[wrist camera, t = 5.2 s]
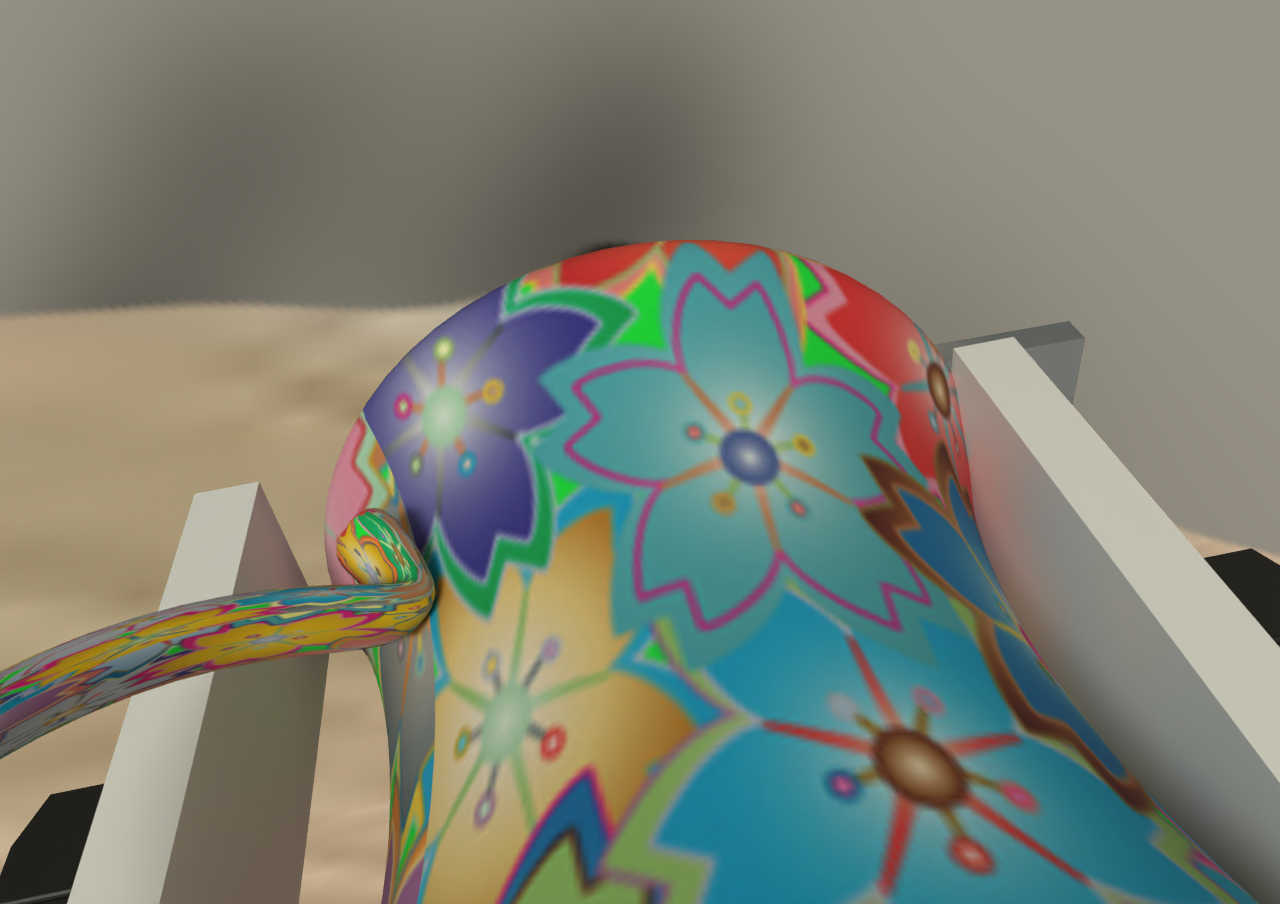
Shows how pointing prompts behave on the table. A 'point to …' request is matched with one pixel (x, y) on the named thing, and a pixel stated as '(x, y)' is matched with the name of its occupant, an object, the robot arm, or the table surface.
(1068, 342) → the slate board
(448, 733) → the mug
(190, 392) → the table surface
